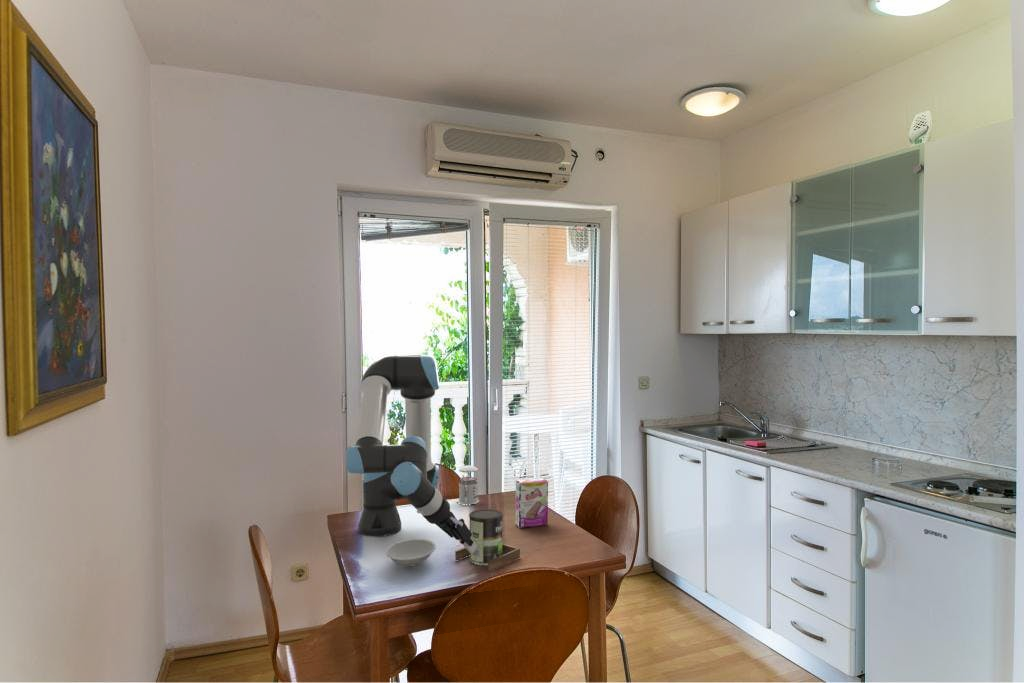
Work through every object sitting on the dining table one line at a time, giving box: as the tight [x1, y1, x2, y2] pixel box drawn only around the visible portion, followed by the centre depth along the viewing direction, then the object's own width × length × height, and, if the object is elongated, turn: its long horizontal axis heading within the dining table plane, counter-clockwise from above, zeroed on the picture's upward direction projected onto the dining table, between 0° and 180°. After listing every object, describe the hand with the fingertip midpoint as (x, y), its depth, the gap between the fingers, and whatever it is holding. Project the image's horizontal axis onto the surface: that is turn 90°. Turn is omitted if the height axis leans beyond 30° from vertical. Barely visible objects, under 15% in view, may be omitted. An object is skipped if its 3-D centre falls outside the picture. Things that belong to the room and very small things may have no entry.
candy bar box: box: [514, 478, 549, 529], centre depth 212 cm, size 11×5×16 cm, turn 108°
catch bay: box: [454, 543, 521, 573], centre depth 179 cm, size 14×14×3 cm
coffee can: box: [468, 508, 504, 567], centre depth 179 cm, size 10×10×14 cm
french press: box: [457, 441, 480, 506], centre depth 242 cm, size 10×12×25 cm
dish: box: [385, 538, 437, 567], centre depth 174 cm, size 18×14×5 cm
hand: (473, 548), depth 174 cm, fingers closed
